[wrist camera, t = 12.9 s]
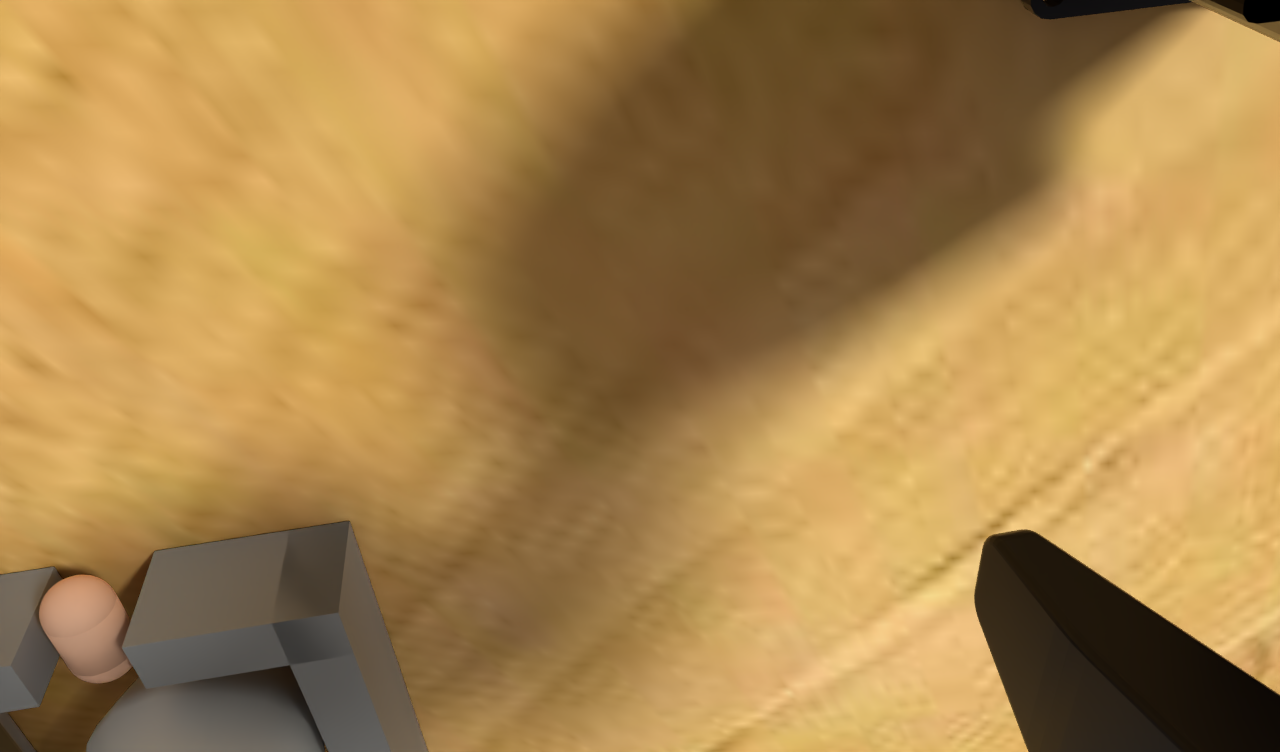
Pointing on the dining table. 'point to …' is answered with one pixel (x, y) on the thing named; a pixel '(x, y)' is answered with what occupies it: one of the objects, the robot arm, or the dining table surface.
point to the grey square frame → (241, 632)
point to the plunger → (87, 627)
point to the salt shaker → (212, 717)
